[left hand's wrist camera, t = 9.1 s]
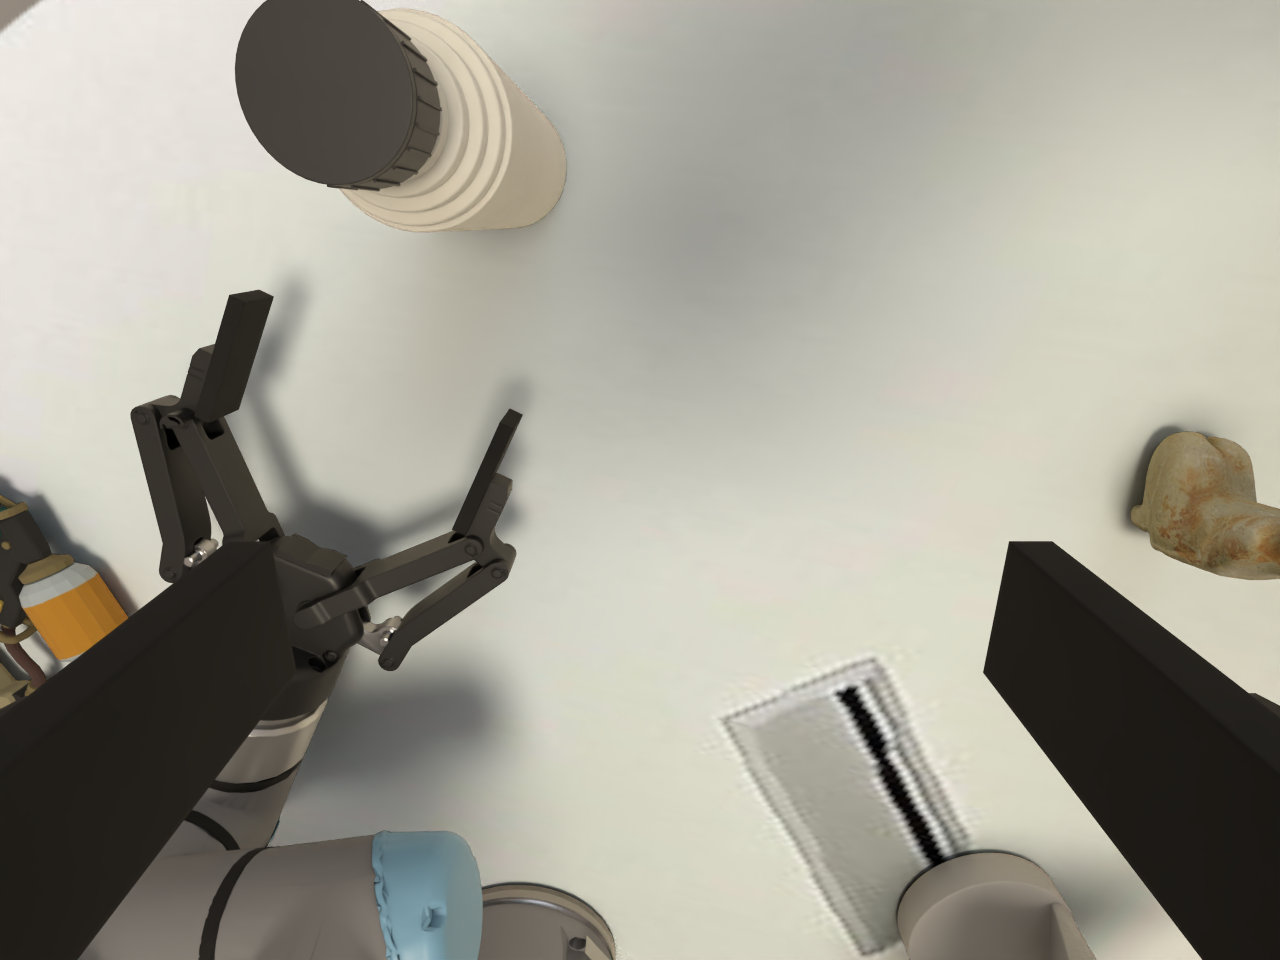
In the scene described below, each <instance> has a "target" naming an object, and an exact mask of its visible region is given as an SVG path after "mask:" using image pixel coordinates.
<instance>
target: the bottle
mask: <svg viewBox="0 0 1280 960" xmlns="http://www.w3.org/2000/svg"><path fill="white" fill-rule="evenodd" d="M377 12H378V13H380V14H381V15H382V16H383V17H385V18H386V19H388V20H389V21H390V22H391V23H393V24H394V25H395V26H397V27H398V28H399V29H400V30H402V31H403V32H404V33H405V34H407V35H408V36H409V37H410V38H411V42H412V43H413V44H414V45H415V47H416V48H417V49H418V50H419V52H420V53H421V54H422V55H423V56H425V57H426V58H427V60H428V61H426V62H427V64H428V66H429V68H430V70H431V72H432V75H433V77H434V80H435V81H436V82H437V83H438V86H437V90H438V95H439V100H440V107H441V108H442V111H440V127H439V132H440V135H439V136H438V137H437V140H436V143H435V146H434V148H433V150H432V152H431V155H432V156H431V157H429V158H428V159H427V161H426V162H425V164H424V165H423V166H422V167H421V168H420V169H419V171H417V172H418V174H417V175H415V174H414V175H413V176H412V177H410V178H409V179H407V180H405V181H404V182H402V183H400V186H392V187H388V188H383V189H380V191H378V192H377V191H368V190H360V189H358V190H349V189H340V188H339V189H340V190H341V191H342V192H343V194H344V195H345V196H346V197H347V198H348V199H349V200H350V201H351V202H352V203H353V204H354V205H355V206H356V207H358V208H359V209H360V210H362V211H363V212H364V213H365V214H367V215H369V216H370V217H372V218H374V219H375V220H377V221H379V222H381V223H383V224H386V225H388V226H390V227H394V228H397V229H400V230H405V231H411V232H445V231H466V230H487V229H508V228H520V227H524V226H528V225H531V224H533V223H535V222H537V221H539V220H540V219H542V218H543V217H544V216H546V215H547V214H548V213H549V212H550V211H551V210H552V209H553V207H554V206H555V204H556V203H557V202H558V200H559V198H560V196H561V194H562V191H563V188H564V184H565V180H566V172H567V162H566V155H565V150H564V146H563V144H562V141H561V138H560V136H559V134H558V132H557V131H556V129H555V128H554V126H553V125H552V123H551V122H550V121H549V120H548V119H547V118H546V116H545V115H544V114H543V113H542V112H541V111H540V110H539V109H538V108H537V107H536V106H535V105H534V104H533V103H532V102H531V100H530V99H529V98H528V97H527V96H526V95H525V94H524V93H523V92H522V91H521V90H520V89H519V88H518V87H517V86H516V84H515V83H514V82H513V81H512V80H511V79H510V78H509V77H508V76H507V75H506V74H505V73H504V72H503V71H502V70H501V68H500V67H499V66H498V65H497V64H496V63H495V62H494V61H493V60H492V59H491V58H490V57H489V56H488V55H487V54H486V52H485V51H484V50H483V49H482V48H481V47H480V46H479V45H478V44H477V43H476V42H475V41H474V40H473V39H472V38H471V37H470V36H468V35H467V34H466V33H465V32H464V31H463V30H461V29H460V28H458V27H457V26H455V25H454V24H452V23H451V22H449V21H447V20H445V19H443V18H441V17H439V16H436V15H433V14H430V13H427V12H424V11H418V10H413V9H390V10H383V11H377Z"/></svg>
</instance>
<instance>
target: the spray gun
mask: <svg viewBox="0 0 1280 960" xmlns="http://www.w3.org/2000/svg"><path fill="white" fill-rule="evenodd" d="M1 504H3V505H4V506H6V507H8V508H9V509H7V508H5V507H4V508H2V509H0V624H1V625H2V632H1V631H0V642H2V643H4V645H5V647H6V649H7V651H8V652H9V653H10V654H11V656H12V657H13V658H14V659H15V661H16V662H17V663H18V664H19V665H20V666H21V667H22V668H23V669H24V670H25V671H26V672H27V673H28V674H29V675H30V677H31V678H32V680H30V681H29V680H22V681H17V680H15V679H14V678H13V676H12V675H11V674H10V673H9V672H8V671H7V670H6V668H5V667H4V666H3V665H2V664H1V663H0V709H1V708H3V707H5V706H7V705H9V704H11V703H13V702H14V701H16V700H18V699H20V698H22V697H24V696H28V695H30V694H31V693H32V692H34V691H35V690H36V689H37V688H39V687H40V686H41V685H43V684H44V683H45V682H47V680H46V679H45V674H44V672H43V671H42V669H41V668H40V666H39V665H38V664H37V663H36V662H34V661H33V660H32V659H31V658H30V657H29V655H28V654H27V653H26V652H25V651H24V649H23V648H22V647H21V645H20V643H19V642H20V641H22V640H24V639H26V638H28V637H29V636H31V635H32V634H33V633H34V632H35V631H37V630H38V632H39V633H40V634H41V636H42V637H43V639H44V640H45V642H46V643H47V645H48V646H49V648H50V649H51V651H52V652H53V654H54V655H55V656H56V658H57V659H58V660H60V661H66V662H72V661H74V660H75V659H76V658H78V657H79V656H80V655H81V654H83V653H84V652H85V651H87V650H88V649H89V648H91V647H92V646H93V645H94V644H96V643H97V642H98V641H100V640H101V639H102V638H103V637H105V636H106V635H107V634H109V633H110V632H111V631H113V630H114V629H115V628H116V627H118V626H119V625H120V624H122V623H123V622H124V621H125V620H127V619H128V617H127V615H126V614H125V612H124V611H123V609H122V608H121V606H120V605H119V603H118V602H117V600H116V599H115V598H114V596H113V595H112V593H111V592H110V590H109V589H108V587H107V586H106V584H105V583H104V581H103V580H102V578H101V577H100V575H99V574H98V573H97V572H96V571H95V570H94V569H93V568H91V567H90V566H89V565H85V564H80V563H75V562H74V559H73V558H72V556H71V555H68V554H65V555H55V554H52V553H51V550H50V547H49V545H48V544H47V542H46V540H45V538H44V537H43V535H42V533H41V532H40V530H39V528H38V526H37V525H36V523H35V521H34V519H33V518H32V516H31V514H30V513H29V511H27V509H28V506H27V505H26V503H25V502H22V503H18V504H15V503H13V502H12V501H10V500H8V499H7V498H5V497H3V496H1V495H0V506H1ZM25 510H26V511H25ZM26 614H27V615H28V617H27V616H26ZM22 623H23V624H25V625H27V626H29V628H28V629H26V630H25V631H24V632H22V633H20V634H18V635H16V633H15V629H16V627H17V626H18V625H20V624H22Z"/></svg>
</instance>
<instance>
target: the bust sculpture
mask: <svg viewBox="0 0 1280 960" xmlns="http://www.w3.org/2000/svg"><path fill="white" fill-rule="evenodd" d="M897 922H898V928H899V932H900V935H901V938H902V940H903V943H904V946H905V949H906V951H907V954H908V957H909V960H1097V959H1096V958H1095V956H1094V955H1093V953H1092V951H1091V950H1090V948H1089V947H1088V945H1087V943H1086V941H1085V939H1084V938H1083V936H1082V934H1081V933H1080V931H1079V929H1078V928H1077V926H1076V924H1075V921H1074V918H1073V915H1072V913H1071V911H1070V909H1069V908H1068V906H1067V904H1066V903H1065V901H1064V900H1063V898H1062V896H1061V895H1060V893H1059V891H1058V890H1057V888H1056V887H1055V885H1054V883H1053V882H1052V880H1051V879H1050V877H1049V876H1048V875H1047V874H1046V873H1045V872H1044V871H1043V870H1042V869H1041V868H1040V867H1038V866H1037V865H1035V864H1034V863H1032V862H1030V861H1028V860H1025V859H1023V858H1020V857H1017V856H1013V855H1008V854H1002V853H978V854H970V855H965V856H961V857H958V858H954V859H951V860H949V861H946V862H944V863H942V864H939V865H938V866H936V867H934V868H932V869H931V870H929V871H927V872H926V873H925V874H923V875H922V876H921V877H920V878H918V879H917V880H916V881H915V882H914V883H913V884H912V885H911V887H910V888H909V889H908V890H907V892H906V893H905V895H904V897H903V899H902V901H901V903H900V906H899V910H898V917H897Z"/></svg>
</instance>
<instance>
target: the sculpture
mask: <svg viewBox="0 0 1280 960" xmlns="http://www.w3.org/2000/svg"><path fill="white" fill-rule="evenodd" d="M1131 521H1132V523H1133V524H1134V525H1136V526H1137V527H1139V528H1140V529H1142V530H1143V531H1146V532H1149V534H1150V543H1151V546H1152V547H1153V548H1154V549H1155V550H1158V551H1160V552H1162V553H1164V554H1165V555H1167V556H1169V557H1171V558H1173V559H1176V560H1178V561H1181V562H1183V563H1186V564H1189V565H1192V566H1195V567H1197V568H1200V569H1202V570H1205V571H1208V572H1211V573H1214V574H1217V575H1220V576H1225V577H1232V578H1239V579H1246V580H1269V579H1280V509H1277V508H1274V507H1270V506H1267V505H1263V504H1260V503H1257V501H1256V492H1255V482H1254V474H1253V468H1252V463H1251V459H1250V457H1249V455H1248V453H1247V452H1246V451H1245V450H1244V449H1243V448H1242V447H1241V446H1240V445H1238V444H1237V443H1235V442H1233V441H1230V440H1227V439H1224V438H1216V437H1208V438H1207V439H1206V438H1205V437H1204V435H1202V434H1199V433H1195V432H1179V433H1175V434H1172V435H1170V436H1168V437H1167V438H1165V439H1164V440H1163V441H1162V442H1161V443H1160V444H1159V446H1158V447H1157V448H1156V450H1155V452H1154V453H1153V455H1152V458H1151V461H1150V463H1149V467H1148V471H1147V476H1146V482H1145V491H1144V498H1143V503H1142V505H1136V506H1134V507H1133V508H1132V511H1131Z"/></svg>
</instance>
